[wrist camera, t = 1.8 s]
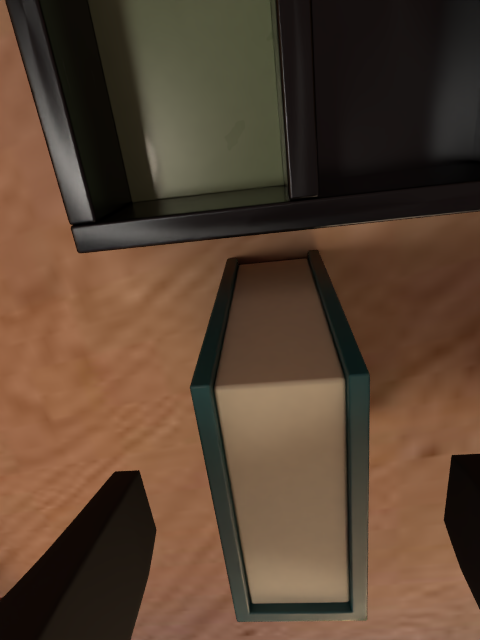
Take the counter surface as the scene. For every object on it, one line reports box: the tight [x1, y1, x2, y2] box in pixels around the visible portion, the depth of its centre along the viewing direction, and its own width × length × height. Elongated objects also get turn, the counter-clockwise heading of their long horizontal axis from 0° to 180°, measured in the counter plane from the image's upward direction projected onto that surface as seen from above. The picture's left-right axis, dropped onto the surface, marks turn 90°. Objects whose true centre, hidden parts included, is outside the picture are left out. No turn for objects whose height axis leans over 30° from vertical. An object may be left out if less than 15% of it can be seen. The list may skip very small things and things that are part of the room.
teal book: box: [190, 250, 370, 622], centre depth 13 cm, size 8×3×8 cm, turn 7°
